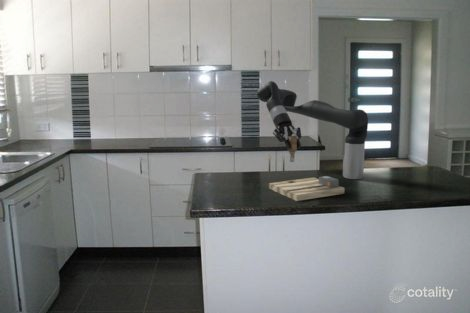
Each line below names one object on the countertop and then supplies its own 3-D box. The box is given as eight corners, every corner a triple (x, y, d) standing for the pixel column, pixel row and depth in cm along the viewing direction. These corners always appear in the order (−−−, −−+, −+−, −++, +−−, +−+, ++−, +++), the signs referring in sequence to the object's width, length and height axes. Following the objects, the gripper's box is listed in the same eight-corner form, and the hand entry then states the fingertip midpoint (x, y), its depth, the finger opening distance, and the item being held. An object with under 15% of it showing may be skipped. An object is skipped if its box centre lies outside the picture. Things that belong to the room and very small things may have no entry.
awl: (285, 161, 190) (286, 136, 188) (293, 160, 191) (293, 135, 189) (290, 162, 186) (291, 137, 184) (298, 161, 188) (298, 136, 186)
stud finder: (318, 183, 187) (318, 176, 186) (326, 182, 189) (327, 175, 188) (330, 187, 180) (330, 180, 179) (338, 186, 182) (338, 179, 181)
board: (268, 188, 189) (268, 182, 189) (313, 182, 199) (313, 177, 199) (296, 200, 170) (296, 194, 169) (344, 193, 180) (344, 187, 179)
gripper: (290, 122, 200) (304, 151, 192) (263, 123, 194) (277, 154, 186) (296, 111, 194) (312, 141, 186) (269, 113, 188) (284, 143, 180)
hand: (294, 147), depth 186 cm, fingers closed on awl, 4 cm apart
